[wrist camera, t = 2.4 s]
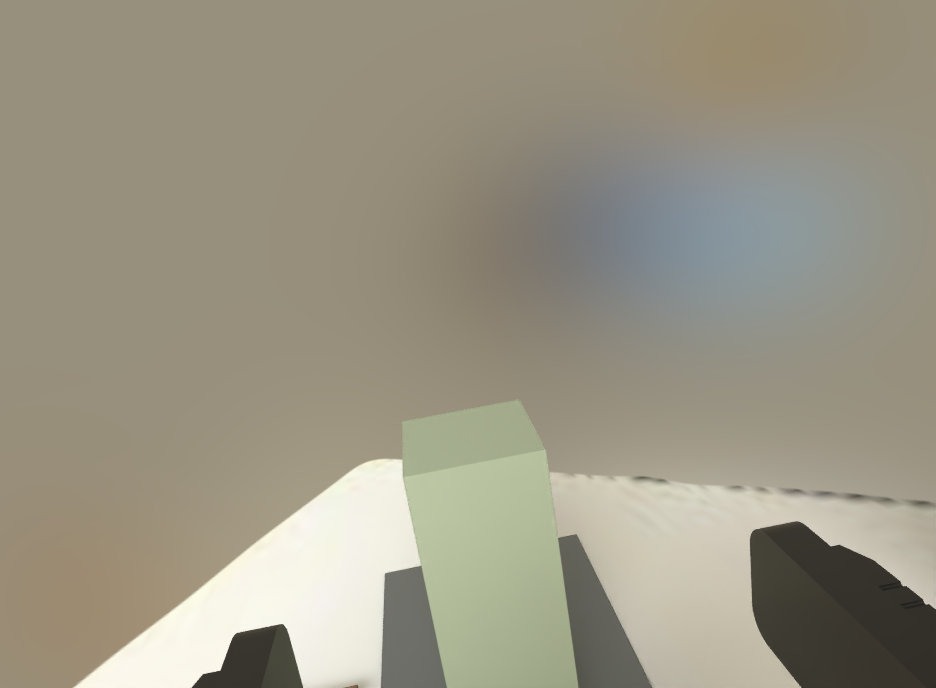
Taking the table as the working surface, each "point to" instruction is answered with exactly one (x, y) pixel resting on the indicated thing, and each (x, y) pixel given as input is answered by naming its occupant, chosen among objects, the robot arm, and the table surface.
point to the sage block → (489, 548)
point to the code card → (590, 615)
